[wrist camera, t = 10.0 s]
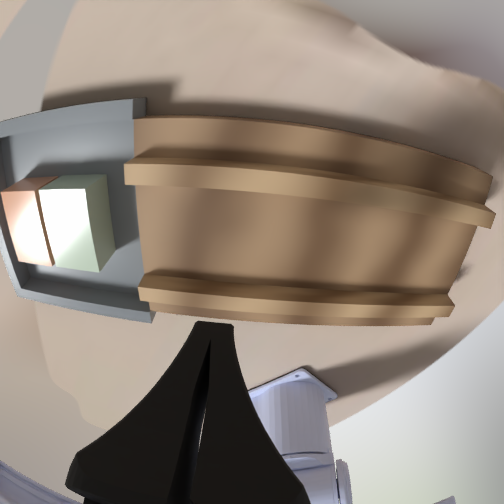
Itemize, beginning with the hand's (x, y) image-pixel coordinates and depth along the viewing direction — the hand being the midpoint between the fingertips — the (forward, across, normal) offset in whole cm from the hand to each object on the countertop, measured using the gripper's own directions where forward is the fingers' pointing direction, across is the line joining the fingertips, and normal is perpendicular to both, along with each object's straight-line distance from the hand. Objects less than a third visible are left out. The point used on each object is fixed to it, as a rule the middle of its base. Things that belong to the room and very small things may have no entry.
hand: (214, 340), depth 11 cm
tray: (+10, +14, 0) cm, 17 cm away
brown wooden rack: (+10, -6, 0) cm, 12 cm away
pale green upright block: (+10, +11, 0) cm, 15 cm away
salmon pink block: (+10, +15, 0) cm, 18 cm away
